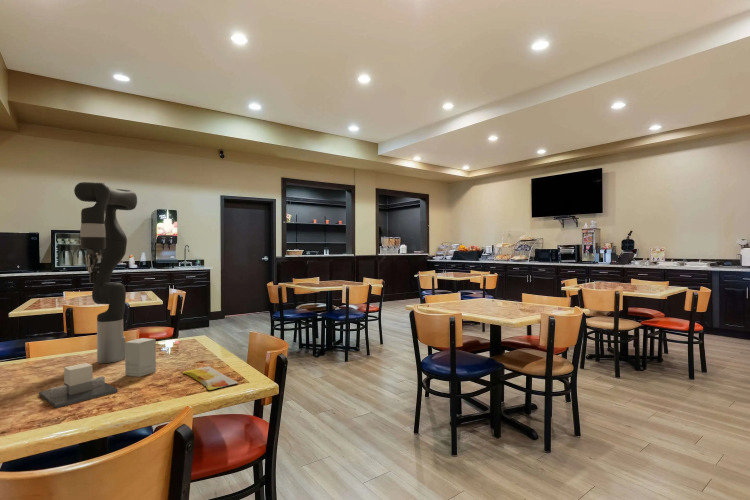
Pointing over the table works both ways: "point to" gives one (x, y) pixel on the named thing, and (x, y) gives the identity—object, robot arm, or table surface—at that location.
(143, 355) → the supplement box
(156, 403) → the table surface
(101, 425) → the table surface
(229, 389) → the table surface
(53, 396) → the rail board
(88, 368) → the block
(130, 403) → the table surface
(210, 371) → the food package
